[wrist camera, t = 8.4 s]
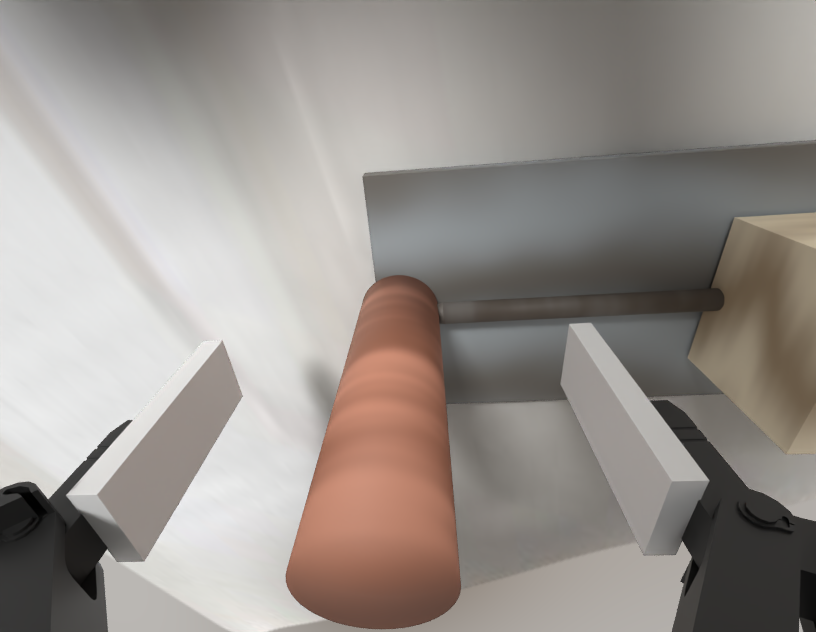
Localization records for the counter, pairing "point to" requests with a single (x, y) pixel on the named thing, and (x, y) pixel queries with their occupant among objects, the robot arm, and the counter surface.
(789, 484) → the counter surface
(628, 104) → the counter surface
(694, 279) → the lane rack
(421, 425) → the rod with end block
